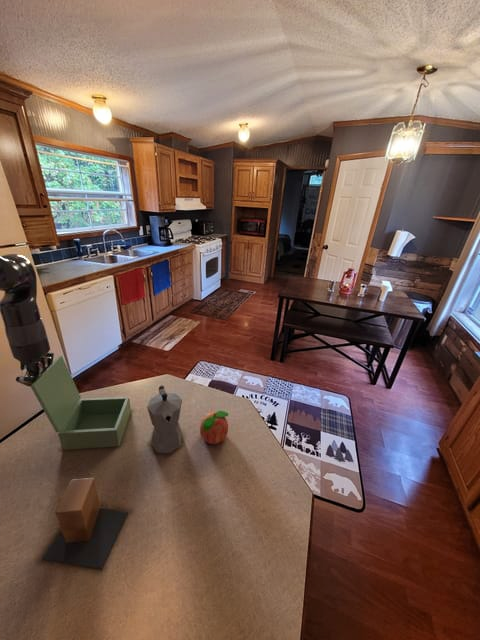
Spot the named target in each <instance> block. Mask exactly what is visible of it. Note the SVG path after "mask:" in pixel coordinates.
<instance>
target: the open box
mask: <svg viewBox="0 0 480 640" xmlns="http://www.w3.org/2000/svg"><path fill="white" fill-rule="evenodd" d="M131 408H132V407H131V401H130V396H116V397H115V396H114V397H113V396H112V397H91V398H90V397H89V398H87V397H86V398H80V400H79V401H78V403H77V404H76V406H75V408H74V409H73V411H72V412H71V414H70V415H69V417H68V419H67V420H66V422H65V423H64V425H63V427H62V428H61V430H60V431H59V432H57V435H58V438H59V442H60V445H61V449H62V450H79V449H93V448H94V449H95V448H108V447H109V448H110V447H119V446H121V445H120V444H121V441H122V439H123V437H124V433H125V430H126V427H127V424H128V422H129V419H130V415H131V412H132V409H131Z"/></svg>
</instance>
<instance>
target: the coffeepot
mask: <svg viewBox="0 0 480 640" xmlns="http://www.w3.org/2000/svg"><path fill="white" fill-rule="evenodd" d="M158 393H159V394H156V395H154V396H152V397H150V400H149V402H148V404H147V406H146V408H147V412H148V414H149V415H148V416H149V418H150V422H151V425H152V426H153V430H152V435H151V442H150V446H151V447H152V448H153V449H154V451H155V452H156V453H157V454H171V453H172V452H174V451H175V450H177V449H179V448H180V447H181V444H182V440H183V433H182V429H181V425H180V423H179V421H180V417H181V410H182V403H183V399H182V398H181V397H180V396H179V395H178V394H177V393H175V392H166V388H165V385H160V386H159V387H158Z"/></svg>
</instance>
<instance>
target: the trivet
mask: <svg viewBox="0 0 480 640" xmlns="http://www.w3.org/2000/svg"><path fill="white" fill-rule="evenodd" d="M128 514H129V512H127V511H121V510H115V509H109V508H102V507H100V510H99V513H98V516H97V519H96V522H95V525H94V528H93V531H92V534H91V537H90V540H88V541H79V542H71V543H66V542H65V539H64V536H63V533H62V530H61V529H60V530H59V532H58V533H57V535H56V537H55V538H54V540H53V541H52V543H51V544H50V546H49V547H48V549H47V551H46V552H45V553H44V555H43V557H42V558H41V559H42V561H47V562H48V561H49V562H54V563H61V564H65V565H72V566H77V567H82V568H88V569H93V570H94V569H95V570H100V571H102V570H103V568H104V566H105V564H106V561H107V560H108V557H109V555H110V553H111V551H112V549H113V547H114V544H115V542H116V540H117V538H118V536H119V534H120V531H121V529H122V528H123V525H124V523H125V520H126V519H127V517H128Z"/></svg>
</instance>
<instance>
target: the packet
mask: <svg viewBox="0 0 480 640" xmlns="http://www.w3.org/2000/svg"><path fill="white" fill-rule="evenodd" d="M100 508H101V503H100V499H99V495H98V491H97V486H96V482H95V477H88V478H76V479H75V478H74V479H70V481H69V483H68V486H67V487H66V489H65V491H64V494H63V496H62V499H61V500H60V502H59V505H58V507H57V508H56V511H55V515H56V518H57V522H58V524H59V527H60V531H61V530H62V533H63V536H64V539H65V542H66V543H71V542H79V541H88V540H90V537H91V534H92V531H93V528H94V525H95V522H96V519H97V516H98V513H99V510H100Z"/></svg>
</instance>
